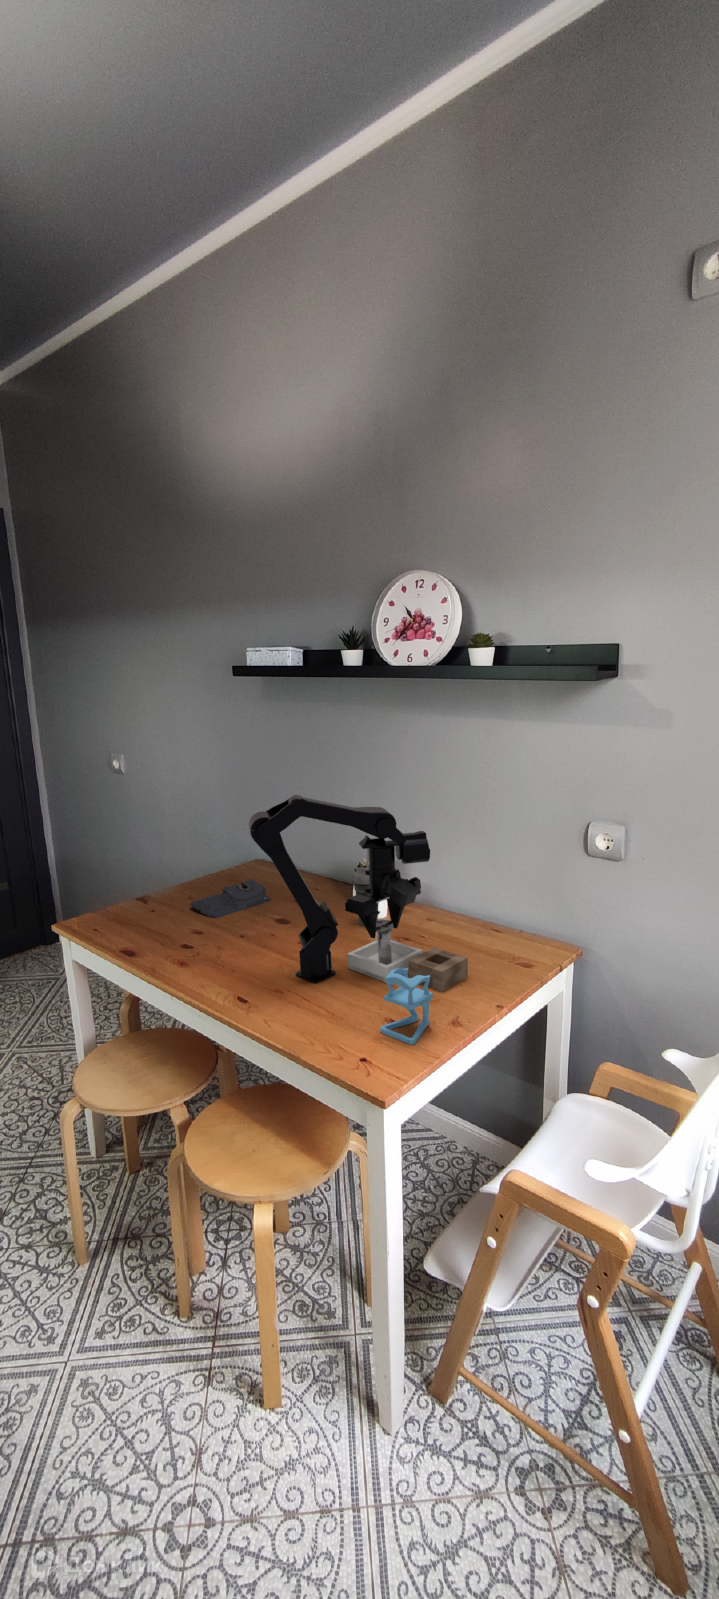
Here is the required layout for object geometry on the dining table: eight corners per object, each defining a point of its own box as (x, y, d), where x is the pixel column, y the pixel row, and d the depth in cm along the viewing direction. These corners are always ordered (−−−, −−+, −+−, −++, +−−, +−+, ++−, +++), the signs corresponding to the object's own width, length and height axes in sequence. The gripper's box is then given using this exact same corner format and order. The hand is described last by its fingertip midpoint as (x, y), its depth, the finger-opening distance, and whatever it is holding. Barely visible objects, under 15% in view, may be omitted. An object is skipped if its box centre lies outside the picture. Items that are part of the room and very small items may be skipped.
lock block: (442, 992, 151) (441, 971, 150) (408, 979, 157) (408, 960, 157) (467, 977, 158) (467, 957, 157) (434, 966, 164) (434, 947, 163)
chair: (439, 1027, 137) (438, 967, 135) (412, 1045, 131) (410, 983, 129) (407, 1014, 143) (405, 957, 140) (379, 1032, 137) (377, 972, 134)
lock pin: (386, 968, 161) (383, 929, 159) (371, 962, 164) (369, 924, 162) (399, 960, 165) (397, 922, 162) (384, 956, 168) (382, 918, 165)
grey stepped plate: (183, 909, 209) (181, 893, 208) (246, 889, 224) (244, 875, 223) (213, 921, 198) (212, 905, 197) (277, 900, 213) (276, 884, 212)
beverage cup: (349, 926, 189) (346, 851, 185) (362, 916, 196) (359, 844, 192) (374, 930, 186) (372, 854, 182) (387, 920, 192) (384, 847, 188)
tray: (387, 983, 156) (387, 967, 156) (347, 968, 165) (347, 953, 164) (423, 964, 165) (422, 950, 164) (383, 951, 173) (382, 937, 172)
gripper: (380, 883, 148) (383, 955, 151) (437, 862, 161) (438, 929, 164) (341, 873, 155) (345, 942, 159) (399, 853, 169) (400, 918, 172)
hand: (384, 932), depth 163 cm, fingers open, 7 cm apart
